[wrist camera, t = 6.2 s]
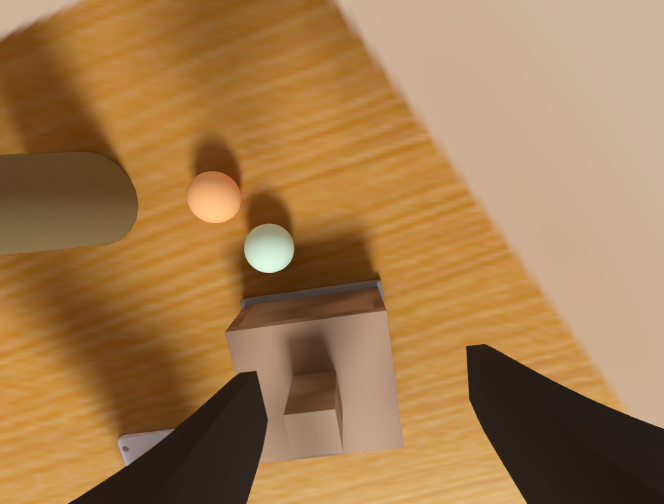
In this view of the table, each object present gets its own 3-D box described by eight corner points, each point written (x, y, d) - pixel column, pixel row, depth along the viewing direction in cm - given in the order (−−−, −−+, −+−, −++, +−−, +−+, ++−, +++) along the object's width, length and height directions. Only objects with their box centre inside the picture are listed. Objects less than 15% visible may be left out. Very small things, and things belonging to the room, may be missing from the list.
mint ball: (301, 261, 20) (294, 275, 17) (257, 268, 20) (243, 282, 18) (292, 217, 20) (284, 223, 17) (247, 224, 20) (231, 231, 17)
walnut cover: (377, 287, 20) (396, 338, 13) (393, 404, 22) (416, 498, 15) (245, 305, 21) (200, 363, 14) (271, 418, 23) (243, 515, 16)
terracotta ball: (251, 215, 20) (236, 222, 17) (207, 222, 20) (184, 230, 17) (241, 168, 19) (223, 166, 16) (195, 176, 19) (169, 175, 16)
